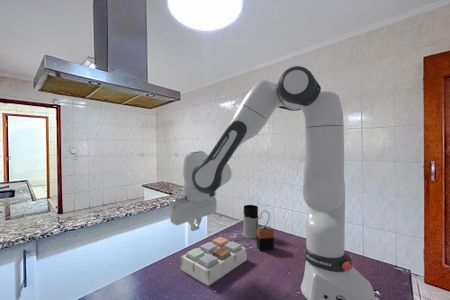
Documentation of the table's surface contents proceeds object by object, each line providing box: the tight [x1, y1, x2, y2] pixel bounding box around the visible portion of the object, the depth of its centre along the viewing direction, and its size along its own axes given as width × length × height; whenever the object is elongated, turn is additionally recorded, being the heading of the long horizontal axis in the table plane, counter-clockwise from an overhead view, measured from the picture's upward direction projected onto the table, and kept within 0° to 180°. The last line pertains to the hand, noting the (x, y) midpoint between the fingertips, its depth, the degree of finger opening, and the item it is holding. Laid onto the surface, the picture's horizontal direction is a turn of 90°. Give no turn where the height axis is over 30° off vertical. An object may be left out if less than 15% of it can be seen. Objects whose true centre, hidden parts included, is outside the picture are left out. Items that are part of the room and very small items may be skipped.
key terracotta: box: [211, 236, 229, 248], centre depth 93 cm, size 5×5×3 cm
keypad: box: [180, 240, 248, 287], centre depth 86 cm, size 15×22×6 cm
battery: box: [256, 225, 275, 252], centre depth 99 cm, size 4×7×10 cm, turn 101°
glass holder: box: [242, 204, 270, 239], centre depth 113 cm, size 9×14×15 cm, turn 67°
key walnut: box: [212, 247, 230, 261], centre depth 83 cm, size 5×5×3 cm
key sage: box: [185, 247, 205, 262], centre depth 83 cm, size 5×5×3 cm
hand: (195, 229), depth 83 cm, fingers closed
